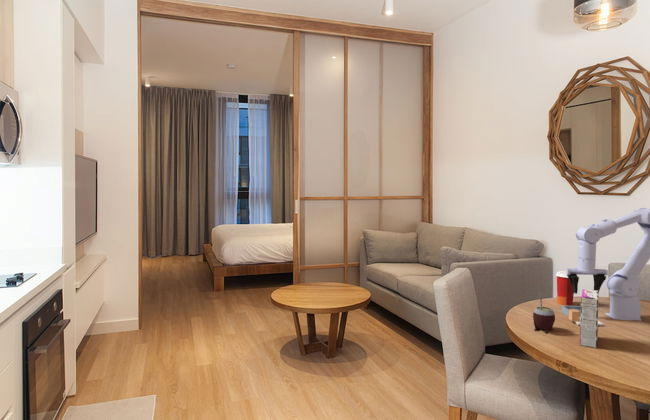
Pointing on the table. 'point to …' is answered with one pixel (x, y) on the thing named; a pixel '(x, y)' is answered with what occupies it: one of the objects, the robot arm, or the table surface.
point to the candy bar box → (589, 318)
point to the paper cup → (564, 289)
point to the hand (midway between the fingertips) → (585, 293)
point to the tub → (566, 308)
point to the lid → (577, 317)
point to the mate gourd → (543, 317)
